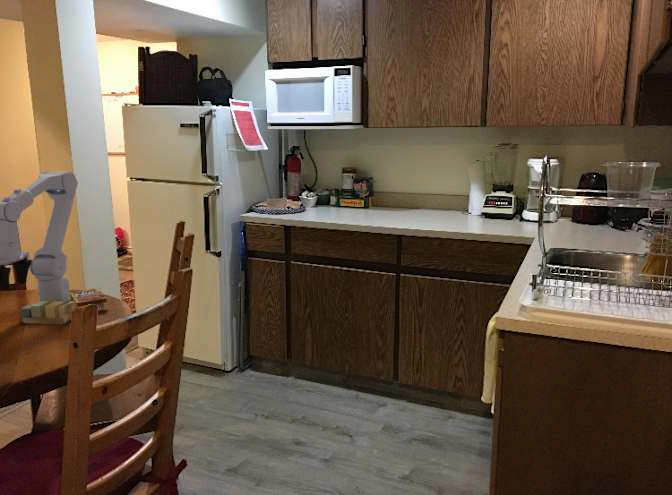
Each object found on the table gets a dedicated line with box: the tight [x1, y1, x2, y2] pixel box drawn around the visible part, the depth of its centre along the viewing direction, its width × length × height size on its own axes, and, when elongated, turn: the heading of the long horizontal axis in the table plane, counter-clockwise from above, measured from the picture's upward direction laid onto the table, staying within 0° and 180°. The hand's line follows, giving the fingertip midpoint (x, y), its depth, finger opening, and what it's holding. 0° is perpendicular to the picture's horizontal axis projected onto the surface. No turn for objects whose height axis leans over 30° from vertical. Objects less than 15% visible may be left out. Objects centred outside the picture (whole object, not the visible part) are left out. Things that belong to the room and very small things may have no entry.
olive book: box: [30, 300, 51, 318], centre depth 174 cm, size 5×3×5 cm, turn 171°
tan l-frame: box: [22, 300, 75, 325], centre depth 173 cm, size 7×13×5 cm, turn 81°
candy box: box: [70, 287, 109, 312], centre depth 186 cm, size 9×4×15 cm
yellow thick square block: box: [45, 302, 66, 318], centre depth 173 cm, size 5×3×5 cm, turn 171°
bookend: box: [19, 303, 35, 322], centre depth 174 cm, size 5×3×4 cm, turn 171°
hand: (14, 286), depth 173 cm, fingers open, 7 cm apart
